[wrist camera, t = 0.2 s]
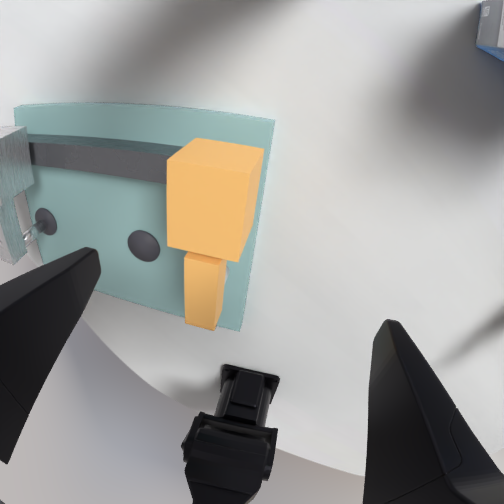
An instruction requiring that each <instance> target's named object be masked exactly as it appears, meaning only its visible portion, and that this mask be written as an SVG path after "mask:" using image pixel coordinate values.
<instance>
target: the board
mask: <svg viewBox="0 0 504 504" xmlns="http://www.w3.org/2000/svg"><path fill="white" fill-rule="evenodd" d="M14 117H15V126H27V134H48V135H70V136H86V137H99V138H112V139H122V140H133V141H142V142H151V143H159V144H167V145H175V146H182V147H184V146H186V145H187V144H188V143H190V142H191V141H192V140H194V139H195V138H202V139H209V140H216V141H222V142H229V143H235V144H241V145H247V146H252V147H258V148H263V149H264V155H263V162H262V168H261V175H260V181H259V188H258V194H257V201H256V207H255V214H254V220H253V226H252V228H251V231H250V233H249V236H248V238H247V241H246V244H245V246H244V249H243V251H242V254H241V257H240V259H239V262H233V261H229V260H227V264H226V266H228V268H229V270H230V273H229V275H228V278H227V280H226V283H225V285H224V295H223V305H222V311H221V314H220V317H219V319H218V322H217V325H216V326H219V327H223V328H227V329H231V330H235V331H239V332H240V328H241V325H242V320H243V314H244V308H245V302H246V296H247V289H248V283H249V277H250V271H251V265H252V259H253V253H254V246H255V240H256V234H257V228H258V222H259V216H260V210H261V203H262V197H263V191H264V185H265V179H266V173H267V166H268V160H269V154H270V148H271V142H272V135H273V129H274V123H275V120H271V119H265V118H259V117H253V116H247V115H240V114H234V113H226V112H219V111H211V110H203V109H194V108H184V107H173V106H160V105H145V104H125V103H52V104H33V105H21V106H18V107H16V108H14ZM31 166H32V172H33V178H34V184H32V185H31V186H29V187H28V188H26V189H25V193H26V198H27V203H28V207H29V212H30V216H31V220H32V224H33V225H34V224H35V223H36V222H37V221H38V220H40V219H41V220H43V221H44V222H45V224H46V230H45V231H44V232H42V233H41V234H40V235H39V236H38V237H37V238H36V239H37V243H38V247H39V250H40V254H41V257H42V260H43V264H44V265H45V264H47V263H49V262H51V261H54V260H56V259H58V258H60V257H63V256H65V255H67V254H70V253H72V252H74V251H77V250H79V249H81V248H84V247H90V248H94V249H96V250H97V251H98V254H99V259H100V265H101V275H100V278H99V280H98V282H97V284H96V286H95V288H94V290H96V291H99V292H102V293H105V294H108V295H111V296H114V297H117V298H120V299H123V300H127V301H130V302H133V303H136V304H140V305H143V306H146V307H150V308H153V309H157V310H160V311H163V312H167V313H170V314H174V315H178V316H181V317H185V294H184V257H185V255H186V254H187V252H188V251H186V250H181V249H177V248H173V247H168V246H167V184H162V183H156V182H150V181H144V180H138V179H131V178H125V177H119V176H112V175H105V174H99V173H92V172H84V171H77V170H70V169H62V168H54V167H46V166H38V165H31Z"/></svg>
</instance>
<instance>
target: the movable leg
mask: <svg viewBox="0 0 504 504" xmlns="http://www.w3.org/2000/svg"><path fill="white" fill-rule="evenodd" d="M263 155H264V149H263V148H258V147H252V146H247V145H241V144H235V143H229V142H222V141H216V140H209V139H202V138H195V139H194V140H192V141H191V142H190V143H188V144H187V145H186V146H184V147H183V148H182V149H180V150H179V151H178V152H176V153H175V154H174V155H173V156H171V157H170V158H169V159H168V160H167V246H168V247H173V248H177V249H181V250H186V251H188V252H187V254H186V255H185V257H184V294H185V323H186V324H189V325H193V326H197V327H201V328H204V329H208V330H212V331H214V330H215V327H216V325H217V322H218V319H219V317H220V314H221V311H222V305H223V295H224V285H225V283H226V280H227V278H228V275H229V273H230V270H229V268H228V266H226V264H227V260H229V261H233V262H239V259H240V257H241V254H242V251H243V249H244V246H245V244H246V241H247V238H248V236H249V233H250V231H251V228H252V226H253V220H254V214H255V207H256V201H257V194H258V188H259V181H260V175H261V168H262V162H263Z"/></svg>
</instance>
